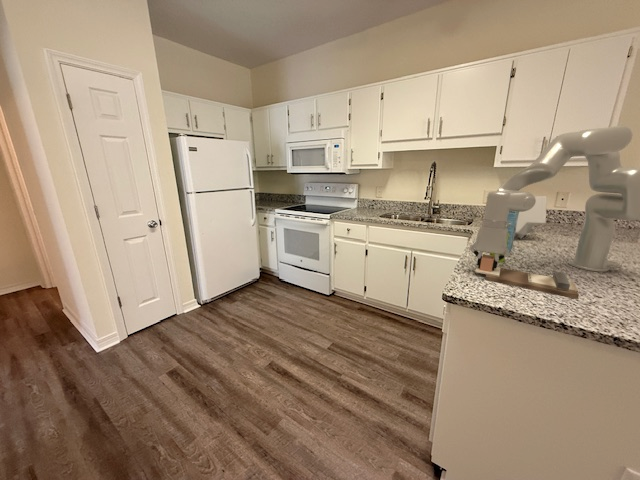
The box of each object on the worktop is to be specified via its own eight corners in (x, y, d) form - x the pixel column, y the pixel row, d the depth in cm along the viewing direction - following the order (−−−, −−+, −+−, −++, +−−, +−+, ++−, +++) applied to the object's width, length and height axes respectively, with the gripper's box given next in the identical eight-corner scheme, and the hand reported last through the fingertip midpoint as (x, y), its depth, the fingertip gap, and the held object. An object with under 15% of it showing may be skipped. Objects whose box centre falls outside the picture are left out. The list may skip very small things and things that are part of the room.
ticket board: (570, 284, 97) (573, 274, 96) (577, 299, 86) (581, 287, 85) (488, 269, 111) (489, 259, 110) (485, 279, 101) (487, 269, 99)
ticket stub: (500, 268, 107) (502, 256, 106) (499, 276, 99) (501, 262, 98) (477, 264, 112) (479, 252, 110) (474, 272, 104) (477, 258, 102)
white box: (504, 236, 154) (506, 195, 155) (493, 239, 169) (495, 201, 171) (545, 239, 149) (546, 196, 151) (529, 241, 165) (531, 202, 166)
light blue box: (508, 255, 129) (518, 209, 123) (496, 253, 132) (505, 208, 126) (512, 247, 143) (521, 205, 137) (501, 245, 146) (509, 204, 140)
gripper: (521, 225, 99) (511, 270, 104) (470, 220, 109) (464, 261, 113) (521, 228, 93) (511, 276, 98) (468, 223, 103) (461, 266, 107)
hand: (486, 268), depth 106 cm, fingers closed on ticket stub, 4 cm apart
